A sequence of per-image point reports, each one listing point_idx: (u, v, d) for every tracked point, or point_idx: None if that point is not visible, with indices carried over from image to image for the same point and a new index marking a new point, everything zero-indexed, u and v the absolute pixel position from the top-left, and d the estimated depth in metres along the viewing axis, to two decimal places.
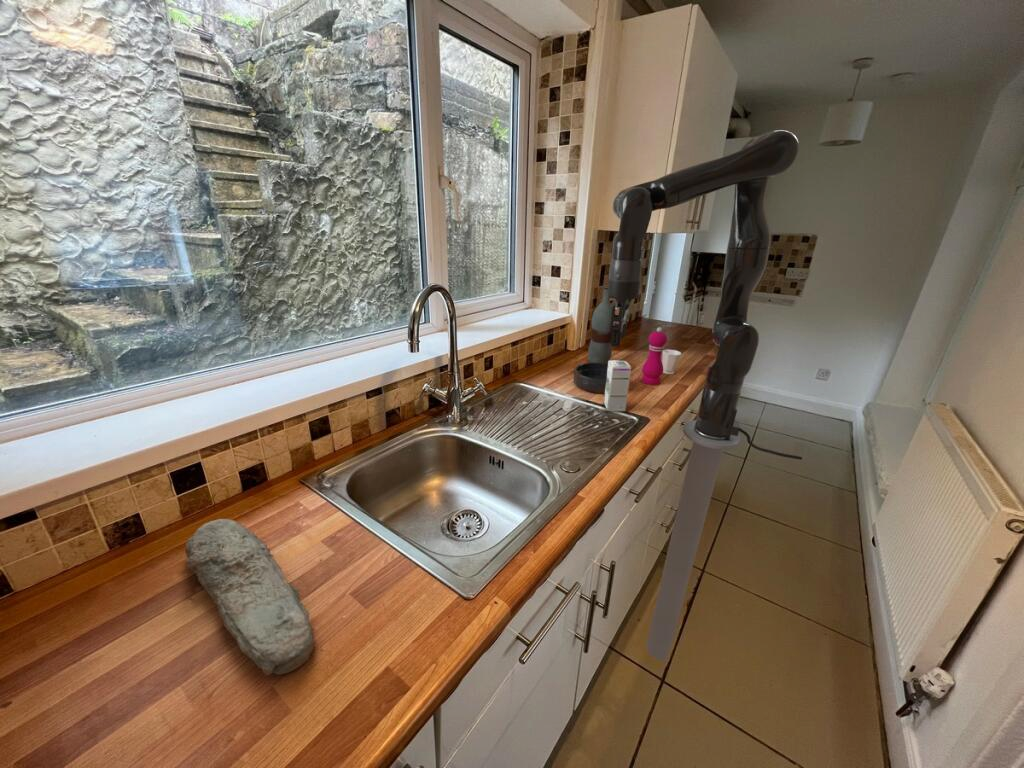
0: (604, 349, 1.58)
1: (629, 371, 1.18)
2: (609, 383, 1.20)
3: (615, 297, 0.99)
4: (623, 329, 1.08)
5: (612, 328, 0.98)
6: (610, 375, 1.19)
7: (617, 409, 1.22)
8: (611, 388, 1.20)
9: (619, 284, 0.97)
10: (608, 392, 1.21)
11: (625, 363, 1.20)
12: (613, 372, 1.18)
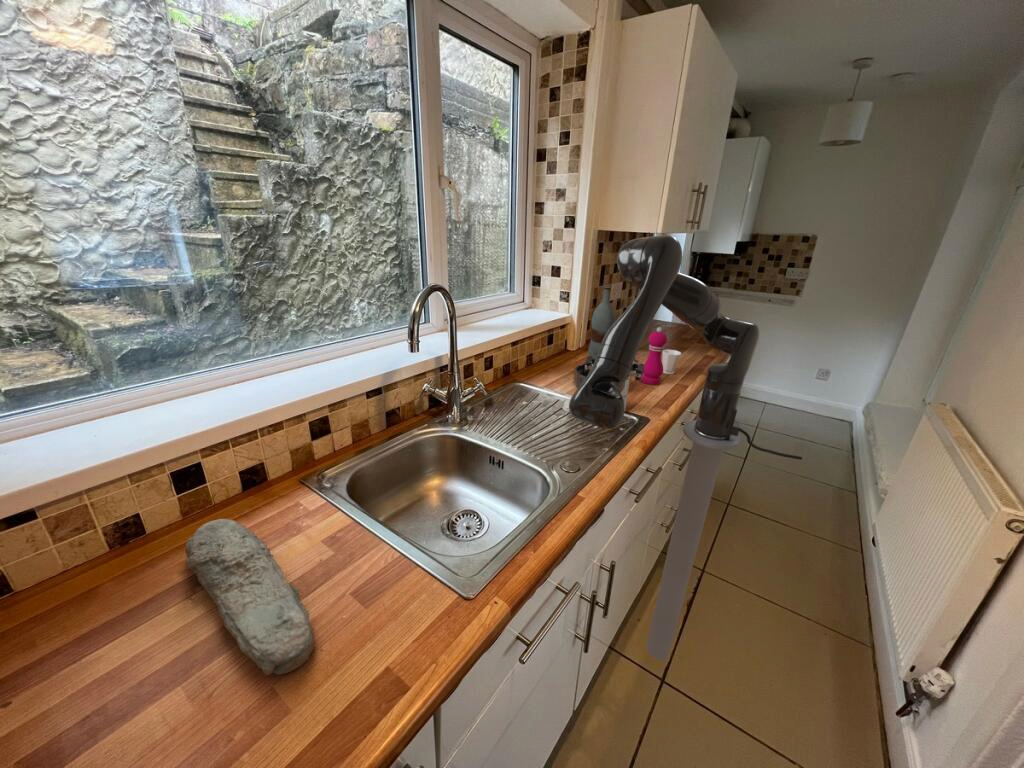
0: None
1: None
2: None
3: None
4: None
5: None
6: None
7: None
8: None
9: None
10: None
11: None
12: None
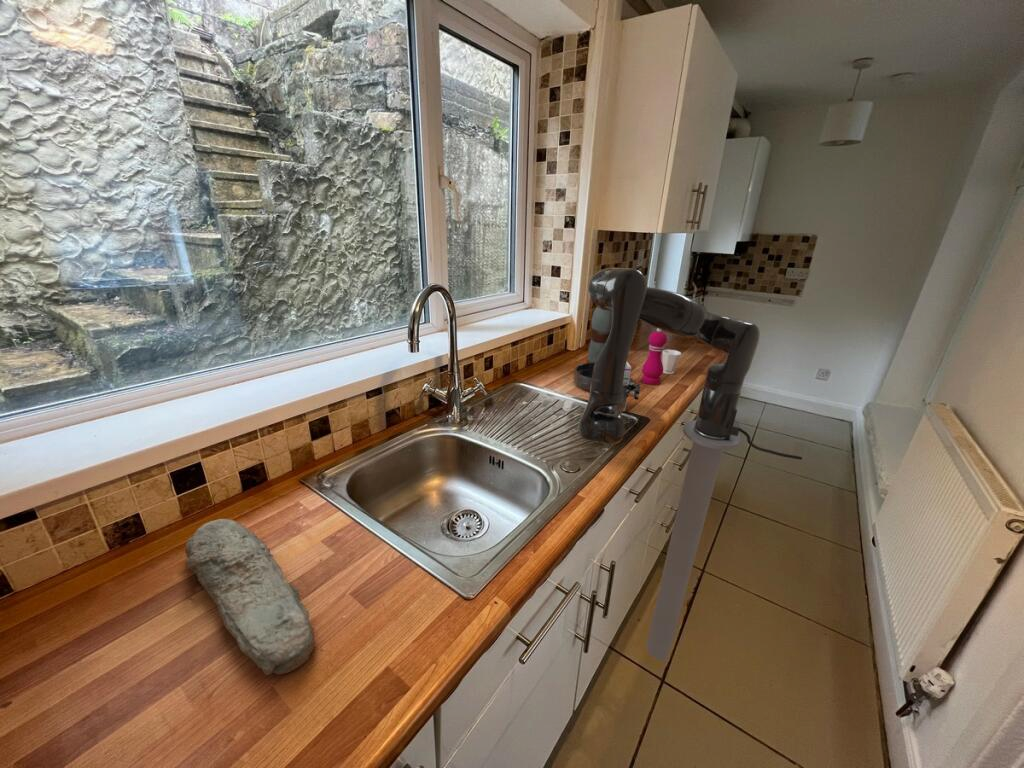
0: None
1: (629, 371, 1.18)
2: None
3: None
4: None
5: None
6: None
7: None
8: None
9: None
10: None
11: None
12: None
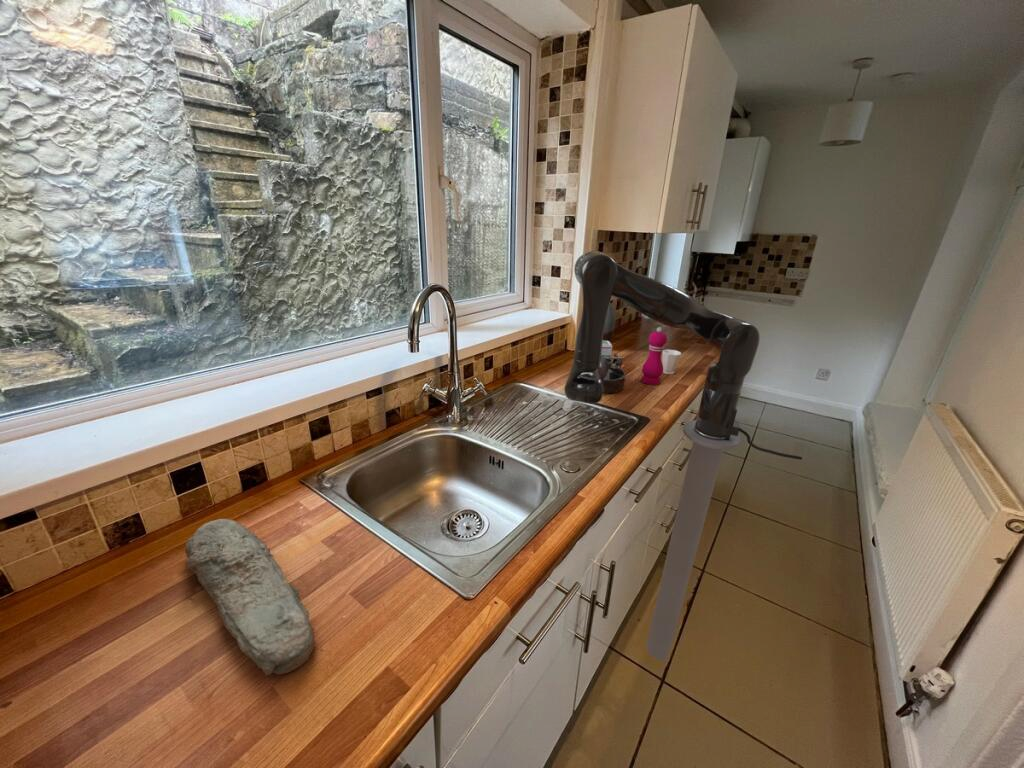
0: None
1: (610, 349, 1.34)
2: None
3: None
4: None
5: (621, 364, 1.33)
6: None
7: None
8: None
9: (606, 372, 1.26)
10: None
11: (607, 342, 1.36)
12: None
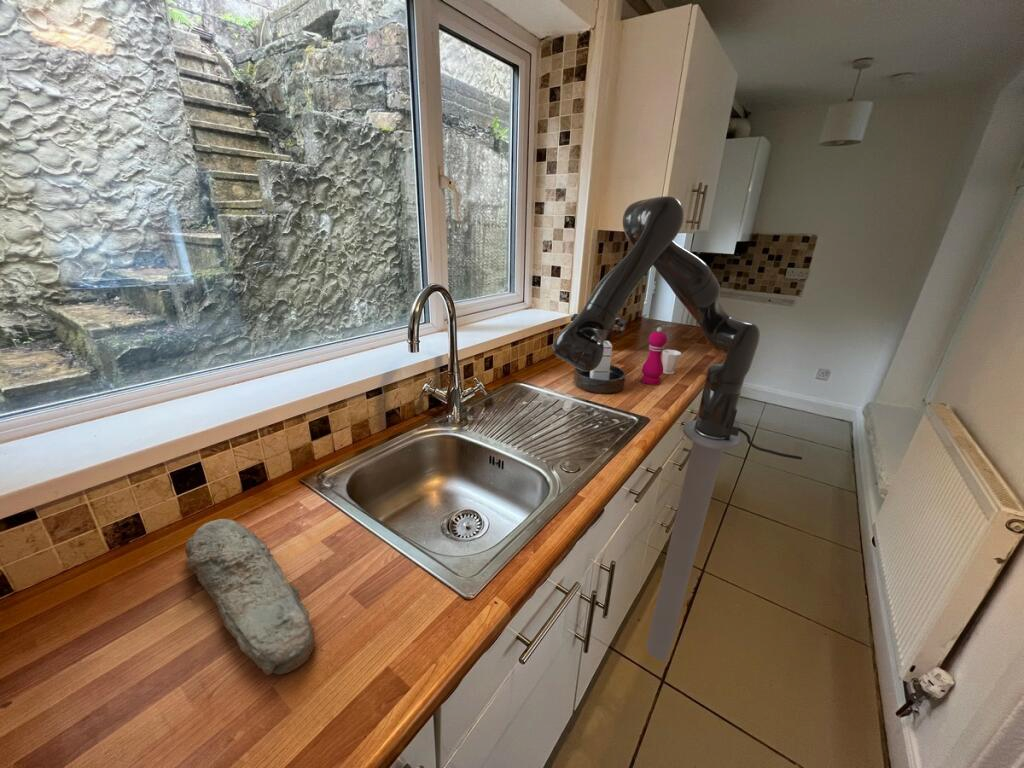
0: None
1: (610, 349, 1.34)
2: None
3: None
4: None
5: (625, 326, 1.08)
6: None
7: None
8: None
9: (607, 334, 1.00)
10: None
11: (607, 342, 1.36)
12: None
